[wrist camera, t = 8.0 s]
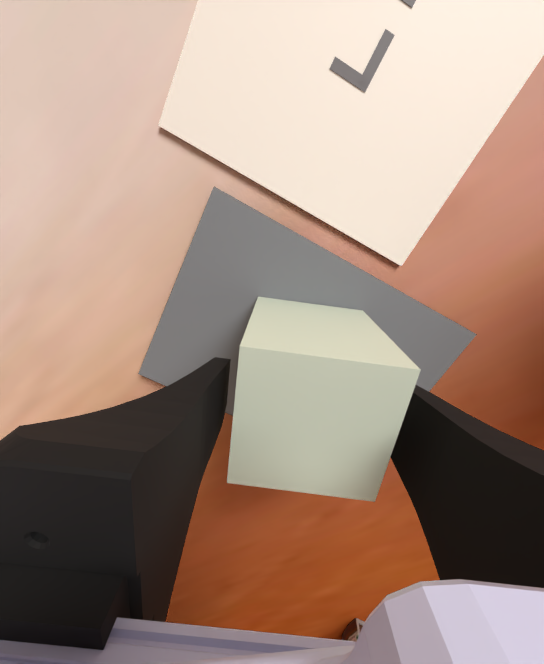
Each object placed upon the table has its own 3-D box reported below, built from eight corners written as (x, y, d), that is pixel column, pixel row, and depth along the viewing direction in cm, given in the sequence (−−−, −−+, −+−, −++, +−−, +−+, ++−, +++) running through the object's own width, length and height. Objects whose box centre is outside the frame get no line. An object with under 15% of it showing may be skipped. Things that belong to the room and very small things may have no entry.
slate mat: (468, 330, 14) (476, 334, 14) (358, 464, 17) (361, 472, 17) (216, 188, 12) (214, 186, 12) (143, 368, 15) (138, 374, 15)
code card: (667, -135, 9) (677, -144, 9) (399, 265, 13) (401, 266, 13) (345, -448, 7) (347, -471, 7) (160, 127, 12) (158, 125, 11)
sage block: (362, 310, 13) (420, 369, 8) (340, 399, 15) (374, 501, 9) (258, 296, 13) (239, 345, 8) (248, 387, 15) (226, 482, 9)
